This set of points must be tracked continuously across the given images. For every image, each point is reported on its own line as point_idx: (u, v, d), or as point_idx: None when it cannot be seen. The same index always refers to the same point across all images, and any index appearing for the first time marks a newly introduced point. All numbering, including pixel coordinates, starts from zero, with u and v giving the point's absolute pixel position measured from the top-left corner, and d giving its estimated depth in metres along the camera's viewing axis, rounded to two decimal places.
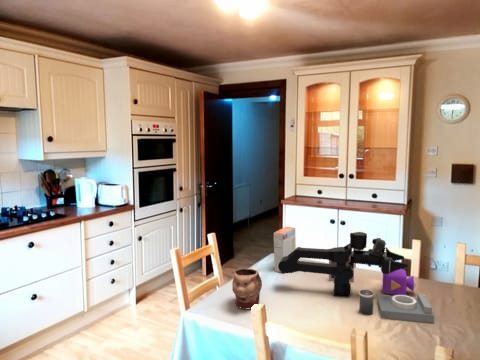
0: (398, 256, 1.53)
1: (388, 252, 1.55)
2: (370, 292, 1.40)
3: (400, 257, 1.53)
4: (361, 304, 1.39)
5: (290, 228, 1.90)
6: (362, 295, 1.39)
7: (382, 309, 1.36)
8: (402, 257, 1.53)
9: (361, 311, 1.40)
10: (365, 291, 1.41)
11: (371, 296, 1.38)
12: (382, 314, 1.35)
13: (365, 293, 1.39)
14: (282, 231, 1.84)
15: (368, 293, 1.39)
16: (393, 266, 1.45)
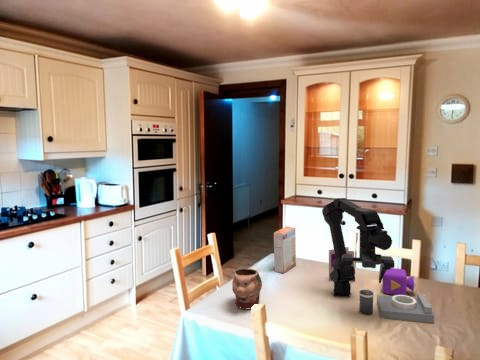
0: (379, 277, 1.38)
1: (381, 268, 1.36)
2: (370, 292, 1.40)
3: (379, 279, 1.38)
4: (361, 304, 1.39)
5: (290, 228, 1.90)
6: (362, 295, 1.39)
7: (382, 309, 1.36)
8: (379, 281, 1.38)
9: (361, 311, 1.40)
10: (365, 291, 1.41)
11: (371, 296, 1.38)
12: (382, 314, 1.35)
13: (365, 293, 1.39)
14: (282, 231, 1.84)
15: (368, 293, 1.39)
16: None
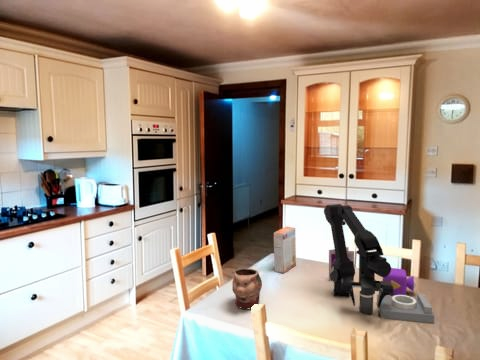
0: (378, 302, 1.39)
1: (380, 294, 1.37)
2: None
3: None
4: (361, 304, 1.39)
5: (290, 228, 1.90)
6: (362, 295, 1.39)
7: (382, 309, 1.36)
8: None
9: (361, 311, 1.40)
10: None
11: (371, 296, 1.38)
12: (382, 314, 1.35)
13: None
14: (282, 231, 1.84)
15: None
16: None
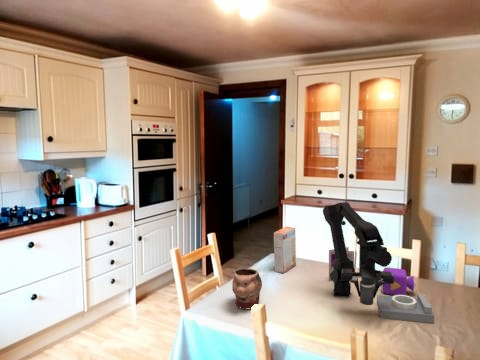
0: None
1: (375, 283, 1.37)
2: None
3: None
4: (361, 294, 1.39)
5: (290, 228, 1.90)
6: (362, 285, 1.38)
7: (382, 309, 1.36)
8: (373, 296, 1.39)
9: (361, 301, 1.39)
10: None
11: (371, 286, 1.37)
12: (382, 314, 1.35)
13: None
14: (282, 231, 1.84)
15: None
16: None
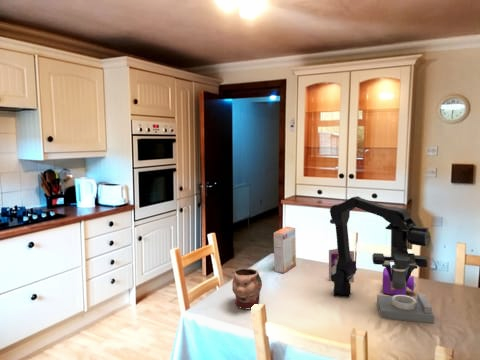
0: (406, 276, 1.37)
1: (408, 267, 1.36)
2: None
3: None
4: (393, 278, 1.37)
5: (290, 228, 1.90)
6: (394, 269, 1.36)
7: (382, 309, 1.36)
8: None
9: (393, 286, 1.38)
10: None
11: (404, 270, 1.36)
12: (382, 314, 1.35)
13: (397, 267, 1.37)
14: (282, 231, 1.84)
15: (401, 267, 1.37)
16: None
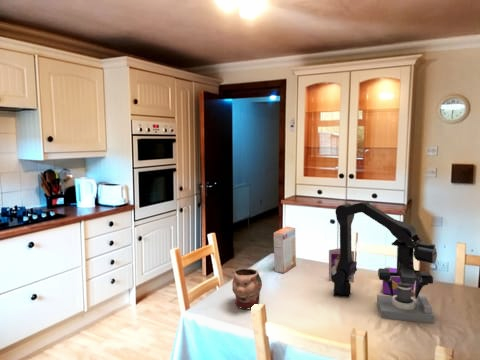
0: (415, 292, 1.38)
1: (418, 284, 1.36)
2: (408, 284, 1.39)
3: (415, 293, 1.38)
4: (399, 296, 1.38)
5: (290, 228, 1.90)
6: (400, 287, 1.37)
7: (382, 309, 1.36)
8: (415, 296, 1.38)
9: None
10: None
11: (409, 288, 1.37)
12: (382, 314, 1.35)
13: (403, 285, 1.38)
14: (282, 231, 1.84)
15: (406, 285, 1.38)
16: None
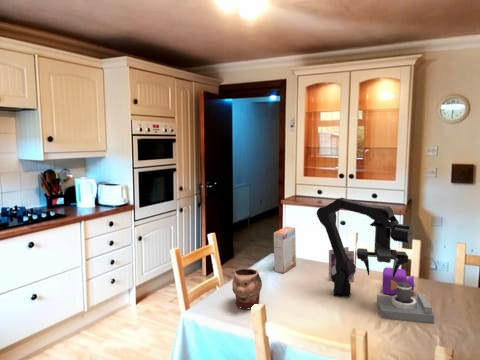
0: (393, 272, 1.43)
1: (395, 263, 1.41)
2: (408, 284, 1.39)
3: (392, 273, 1.44)
4: (399, 296, 1.38)
5: (290, 228, 1.90)
6: (400, 287, 1.37)
7: (382, 309, 1.36)
8: (392, 275, 1.44)
9: None
10: (403, 283, 1.40)
11: (409, 288, 1.37)
12: (382, 314, 1.35)
13: (403, 285, 1.38)
14: (282, 231, 1.84)
15: (406, 285, 1.38)
16: None
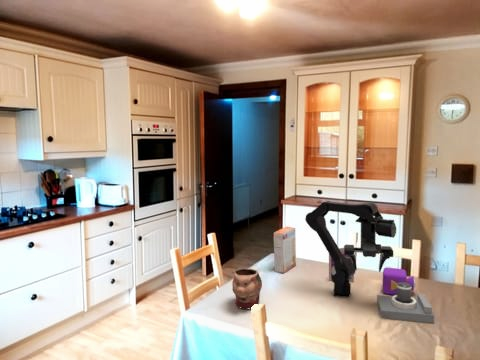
0: (379, 266, 1.47)
1: (381, 258, 1.45)
2: (408, 284, 1.39)
3: (379, 267, 1.47)
4: (399, 296, 1.38)
5: (290, 228, 1.90)
6: (400, 287, 1.37)
7: (382, 309, 1.36)
8: (379, 270, 1.47)
9: None
10: (403, 283, 1.40)
11: (409, 288, 1.37)
12: (382, 314, 1.35)
13: (403, 285, 1.38)
14: (282, 231, 1.84)
15: (406, 285, 1.38)
16: None
